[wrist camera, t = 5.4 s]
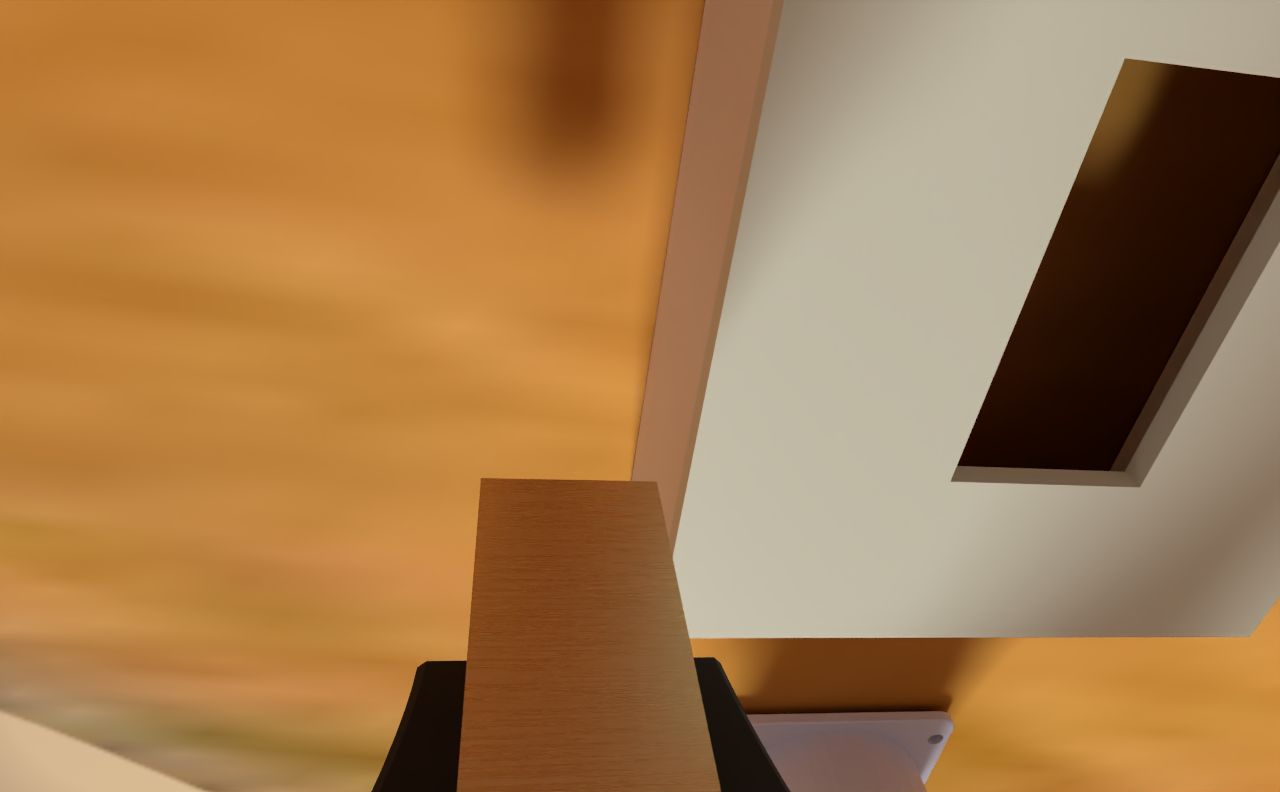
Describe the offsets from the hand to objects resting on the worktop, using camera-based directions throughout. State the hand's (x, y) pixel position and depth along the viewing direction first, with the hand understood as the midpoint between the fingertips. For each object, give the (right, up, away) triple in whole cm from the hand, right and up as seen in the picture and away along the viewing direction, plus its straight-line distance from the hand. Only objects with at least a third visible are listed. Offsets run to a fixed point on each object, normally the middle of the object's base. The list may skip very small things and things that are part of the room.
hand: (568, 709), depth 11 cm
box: (+9, +8, +7) cm, 14 cm away
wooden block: (0, +1, +2) cm, 2 cm away
